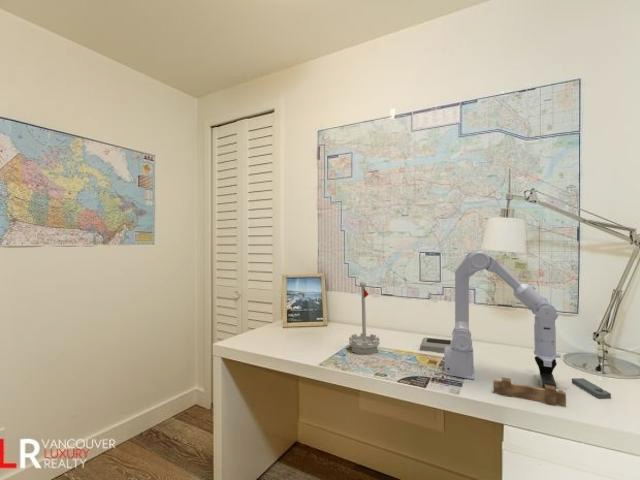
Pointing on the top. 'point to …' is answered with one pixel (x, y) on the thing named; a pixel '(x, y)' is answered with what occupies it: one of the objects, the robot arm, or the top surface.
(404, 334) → the top surface
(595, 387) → the bracket
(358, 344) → the flag stand
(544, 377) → the block
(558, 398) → the brown wooden bar
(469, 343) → the robot arm
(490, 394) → the top surface
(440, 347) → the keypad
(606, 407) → the top surface
